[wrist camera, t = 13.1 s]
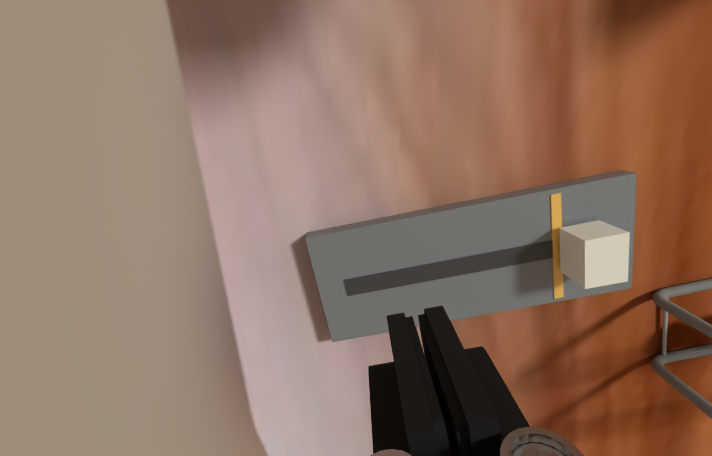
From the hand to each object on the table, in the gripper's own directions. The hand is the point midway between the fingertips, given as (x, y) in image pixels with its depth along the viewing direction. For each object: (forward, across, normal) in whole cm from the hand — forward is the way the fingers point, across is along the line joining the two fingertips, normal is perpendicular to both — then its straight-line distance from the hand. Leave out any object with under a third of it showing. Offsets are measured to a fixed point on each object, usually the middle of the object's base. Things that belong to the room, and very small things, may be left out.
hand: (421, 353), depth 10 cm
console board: (+27, -9, +10) cm, 30 cm away
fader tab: (+25, -20, +10) cm, 33 cm away
